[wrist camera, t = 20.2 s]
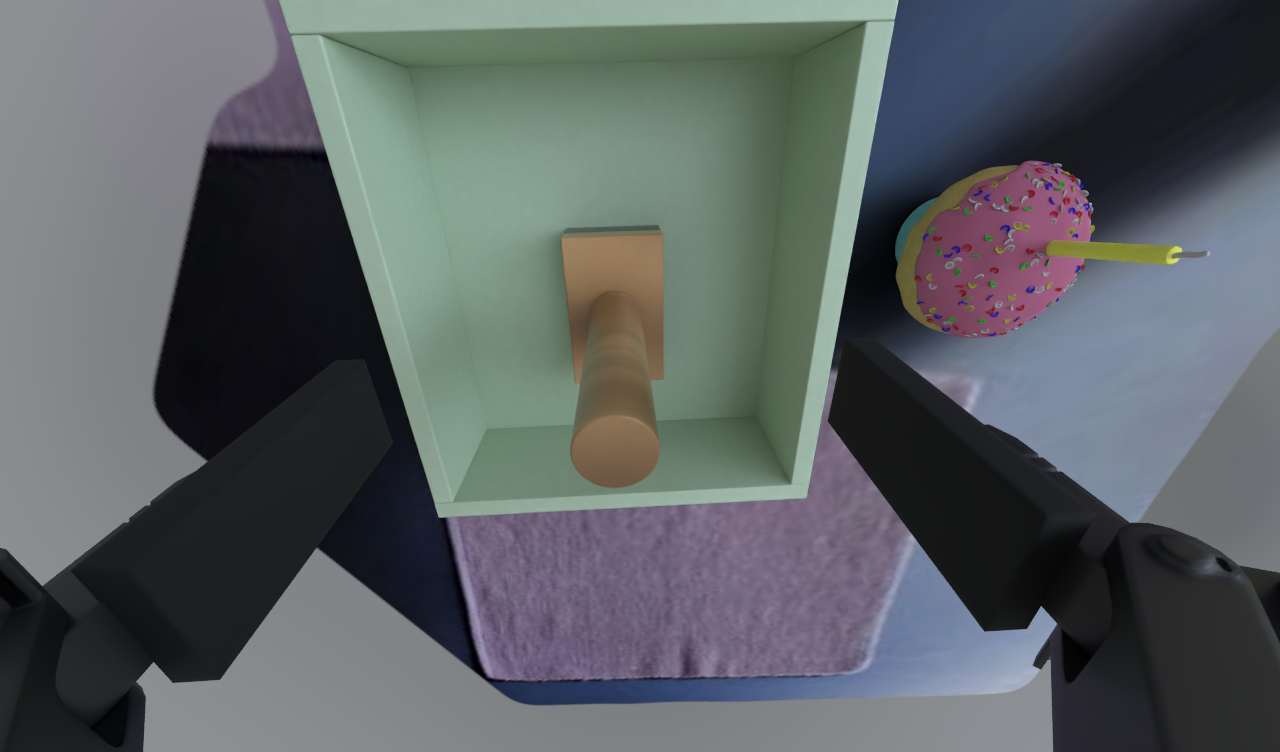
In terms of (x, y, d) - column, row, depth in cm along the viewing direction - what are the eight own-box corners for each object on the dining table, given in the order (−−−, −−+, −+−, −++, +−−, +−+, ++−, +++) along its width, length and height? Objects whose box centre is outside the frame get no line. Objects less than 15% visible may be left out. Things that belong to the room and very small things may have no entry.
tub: (390, 45, 21) (276, -6, 14) (809, 35, 22) (902, -18, 15) (479, 433, 31) (438, 518, 24) (764, 419, 32) (806, 498, 25)
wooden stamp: (566, 227, 24) (504, 326, 11) (658, 224, 24) (708, 318, 11) (579, 361, 28) (544, 557, 15) (659, 357, 28) (697, 548, 15)
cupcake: (946, 126, 24) (1213, 110, 13) (1040, 217, 26) (1331, 265, 16) (833, 263, 27) (975, 341, 16) (926, 333, 29) (1103, 441, 19)
